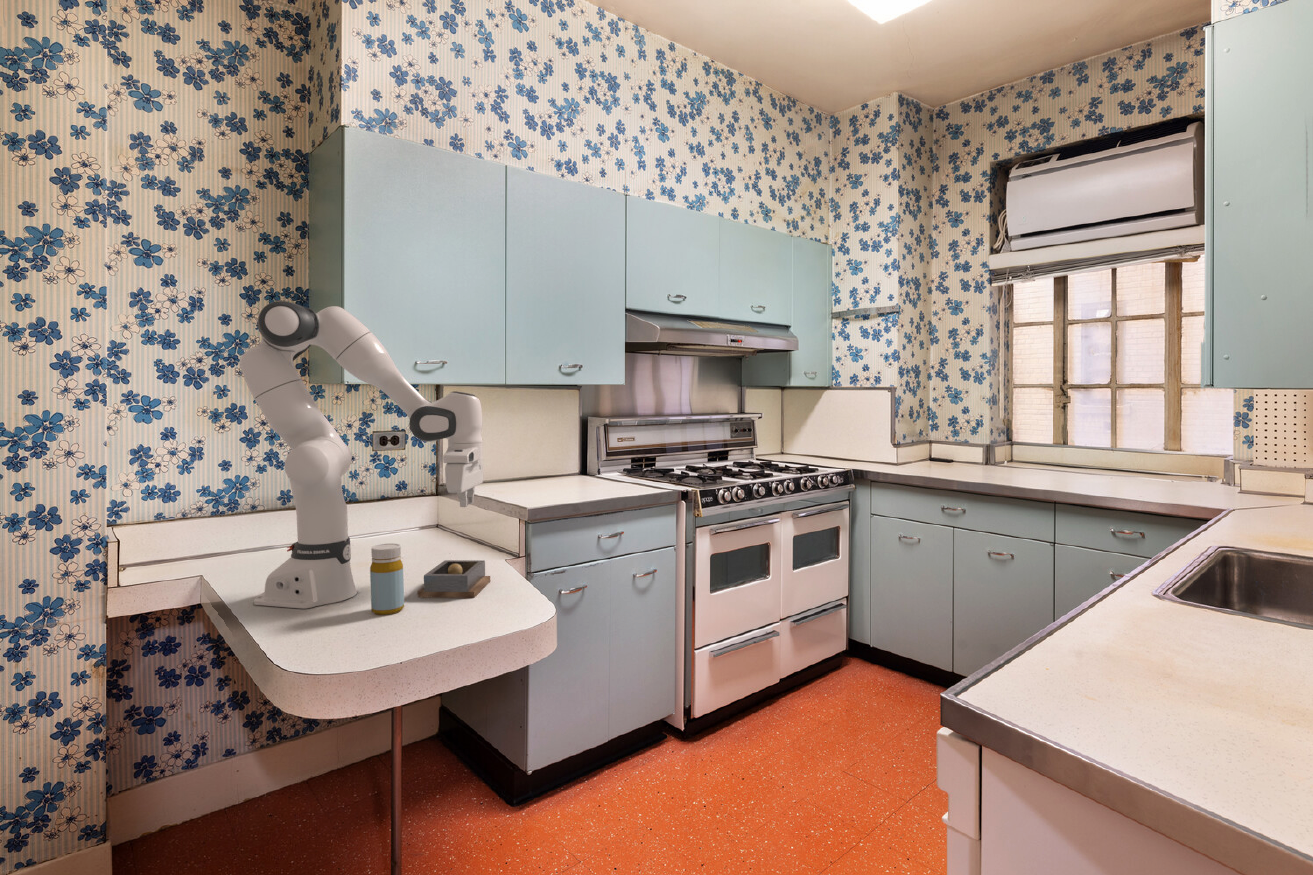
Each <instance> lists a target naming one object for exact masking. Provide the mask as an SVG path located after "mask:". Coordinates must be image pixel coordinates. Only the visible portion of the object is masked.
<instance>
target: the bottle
mask: <svg viewBox="0 0 1313 875" xmlns="http://www.w3.org/2000/svg"><path fill="white" fill-rule="evenodd" d="M401 555H402V548H401V544H399V543H380V544H377V545H376V544H375V545H373V546H372V547H371V565H370V567H369V574H370V576H369V577H370V604H371V605H370V608H371V612H372V613H373V614H375V615H378V616H385V615H386V616H388V615H394V614H398V613H399V612H401V611H403V609H404V607H405V583H404V580H405V579H404V564H403V561H402V559H401V557H402V556H401Z"/></svg>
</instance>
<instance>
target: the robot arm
mask: <svg viewBox="0 0 1313 875" xmlns="http://www.w3.org/2000/svg"><path fill="white" fill-rule="evenodd" d="M257 328H258V332H259V333H260V335H261V337H262V338H261V341H260V343H259V344H257V345H255V346H253V347H251V348H249V349H247V350H246V351H245V352H244V353H243V354H242V355H241V357H240V360H239V367H240V369H241V373H242V375H243V378H244V381H245V383H246V386H247V387H248V389H249V391H250V393H251V395H252V398H253V399H254V401H255V402H256V404H257V406H258V407H259V409H260V411H261V413H262V414H263V416H264V417H265V420H266V422H267V423H268V425H269V426H270V428H271V429H272V431H274V433H276V434H277V435H279V437H280V438H281V439H282V440H283V441H284V442H285V443H286V445H287V446H288V447H289V448H290V449H291V450H290V451H289V453H288V454H287V455H286V458H285V460H284V471H285V475H286V477H288V479H289V483H290V484H289V485H290V488H291V489H290V490H291V492H292V497H293V500H294V505H295V511H296V531H297V532H296V533H297V535H296V536H297V541H295V542H294V543H292V544H291V545H289V546H286V549H287V550H286V552H291V554H290V557H289V558H288V559H287V560H285V561H284V562H282V563H281V564H280V565H279V566H278V567H277V568H275V569H273V571H272V572H270V573H269V575H267V578H266V580H265V584H264V590H263V592H262V593H260V594H259V595H257V596H255V598H254V600H253V605H254V606H264V607H266V606H268V607H280V608H281V607H282V608H291V609H292V608H293V609H305V610H306V609H310V608H314V607H318V606H323V605H327V604H333V603H337V602H342V601H346V600H347V599H348V600H349V599H351V598H352V597H354V596H356V595H357V593H358V590H357V587H356V585H355V581H354V578H353V577H354V576H353V574H352V573H353V572H352V567H351V557H352V555H351V554H352V552H351V550H352V548H351V538H350V537H349V525H348V521H349V519H348V505H347V503H346V501H345V498H344V497H345V496H344V492H343V487H342V481H341V477H342V476H344V475H345V474H346V473H347V472H348V470H349V469H350V466H351V463H352V456H353V455H352V452H351V449H350V448H349V446H348V445H347V444H346V443H345V442H344V440H343V439H342V437H341V436H340V435H339V433H338V432H337V430H336V429H335V428H334V427H333V425H332V424H331V423H330V422H329V420H328V419H327V418H326V416H325V415H324V414H323V413H322V411H321V410H320V408H319V406H318V405H317V403H316V402H315V400H314V398H313V396H312V395H311V393H310V391H309V390H308V387H307V386H306V384H305V383H304V381H303V379H302V377H301V375H300V374H299V372H298V371H297V369H296V367H295V363H294V361H295V360H296V359H298V358H299V357H300V356H301V355H302V354H304V353H305V352H306V351H307V350H309V348H311V346H317V347H319V348H320V349H323V350H324V351H325V352H327V353H328V354H329V355H330V357H332V359H333V360H334V361H335V362H337V363H338V365H340V366H341V368H343V369H344V370H345V371H346V372H348V373H349V374H351V375H352V376H353V377H355V378H356V379H358V380H360V381H361V382H364V383H367V384H368V385H371V386H373V387H375V388H377V389H378V390H380V391H381V392H383V393H385V395H387V396H388V398H389V399H391V401H393V402H394V403H395V404H396V405H397V406H398V407H399V408H400V409H401V410H402V411H403V412H404V413H405V415H407V417H408V418H409V421H408V422H409V425H408V426H409V429H410V431H411V433H412V435H413V436H414V437H415V438H417V439H419V440H420V441H422V442H426V443H427V442H428V443H432V442H433V443H434V442H437V441H440V440H442V439H446V440H447V448H446V451H445V453H444V454H442V455H443V456H442V462H443V463H444V464H445V467H444V475H445V487H446V490H447V492H448V494H457V496H458V500H459V507H460V508H466V507H468V506H469V505H472V504H474V497H475V492H476V487H477V486H479V485H481V484H483V483H484V466H483V465H484V464H483V460H484V441H483V437H482V428H483V410H482V403H481V401H480V399H479V397H478V396H477V395H475V394H472V393H467V392H463V391H457V390H455V391H450V392H449V393H448V394H446V395H445V396H443V397H440V399H438V400H437V399H436V400H435V401H433V402H432V401H429V400H427V399H426V398H425V397H424V396H423V395H422V394H420V392H419V391H418V390H416V388H414V386H412V384H410V383H409V381H408V380H407V379H406V378H405V377H404V376H403V375H402V374H401V372H400V371H399V369H398V367H397V366H396V364H395V363H394V361H393V358H391V356H390V354H389V352H388V350H387V349H386V348H385V346H384V345H383V344H382V342H381V341H380V340H379V339H378V337H377V336H376V335H374V333H373V332H372V331H371V330H370V329H369V328H368V327H367V326H366V325H364V324H363V323H362V322H361V321H360V320H359V319H358V318H356V317H355V316H354V315H352V314H351V313H350V312H349V311H347V310H346V309H344V308H343V307H341V306H335V305H333V306H328V307H327V306H326V307H325V308H323V309H321V310H319V311H318V312H315V311H314V310H313V309H312V308H309V307H306V306H302V305H300V304H298V303H296V302H295V303H294V302H290V301H286V300H276V301H272V302H270V303H268V304H266V305H265V306H264V307H263V308H262V309H261V310H260V312H259V314H258V317H257Z"/></svg>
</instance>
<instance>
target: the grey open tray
mask: <svg viewBox="0 0 1313 875" xmlns="http://www.w3.org/2000/svg"><path fill="white" fill-rule="evenodd" d="M455 563H456V564H459V565H461V567H462V574H448V568H449V566H450V565H452V564H455ZM484 576H486V560H485V559H484V560H480V559H479V560H472V559H471V560H470V559H469V560H462V559H461V560H460V559H459V560H458V559H456V560H452V559H451V560H449V559H445V560H443V561H442V562H440V563H439V564H438V565H437V566H435V567H433V568H432V569H431V570H430V571H428V572H426V573H425V574H424V575H423V587H424V592H468V591H469V590H470V589H471V588H472V587H473V586H474V585H476V584H477V583H478V582H479V581H480V580H481V579H482V578H483V577H484Z"/></svg>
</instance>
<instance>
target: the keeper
mask: <svg viewBox="0 0 1313 875" xmlns="http://www.w3.org/2000/svg"><path fill="white" fill-rule="evenodd" d="M448 574H462V567H461V565H459V564H456V563H455V564H452V565H450V566H449V568H448ZM490 582H491V575H485V576H484V577H483V578H482V579H481V580H480V581H479V582H478V583H477V584H476V585H474V586H473V587H472V588H471V589H470V590H469V591H468V592H424V586H423V587H421V588H420V589H419V590H417V598H449V599H450V598H462V599H465V598H467V599H468V598H469V599H470V598H471V599H472V598H473V599H475V598H476V596H477V595H479V594H480V593H481V592H482V591H483V590H484V589H485V587H487V585H488V584H490Z"/></svg>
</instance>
